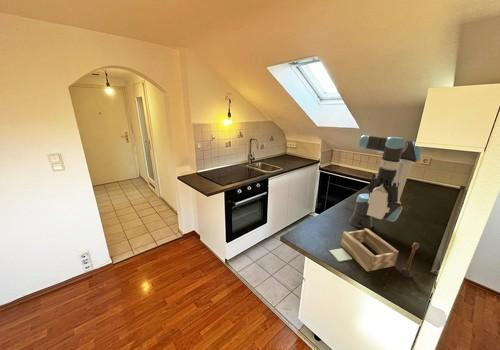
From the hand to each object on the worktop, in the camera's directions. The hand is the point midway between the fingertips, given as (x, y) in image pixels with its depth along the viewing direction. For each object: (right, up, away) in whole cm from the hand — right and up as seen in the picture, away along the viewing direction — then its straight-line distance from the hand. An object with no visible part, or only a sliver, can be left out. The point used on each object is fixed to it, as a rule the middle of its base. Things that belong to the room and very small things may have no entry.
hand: (377, 207), depth 111 cm
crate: (-1, -30, +11) cm, 32 cm away
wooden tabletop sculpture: (+13, -35, -2) cm, 38 cm away
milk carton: (0, -5, +2) cm, 5 cm away
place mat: (-16, -30, +10) cm, 35 cm away
